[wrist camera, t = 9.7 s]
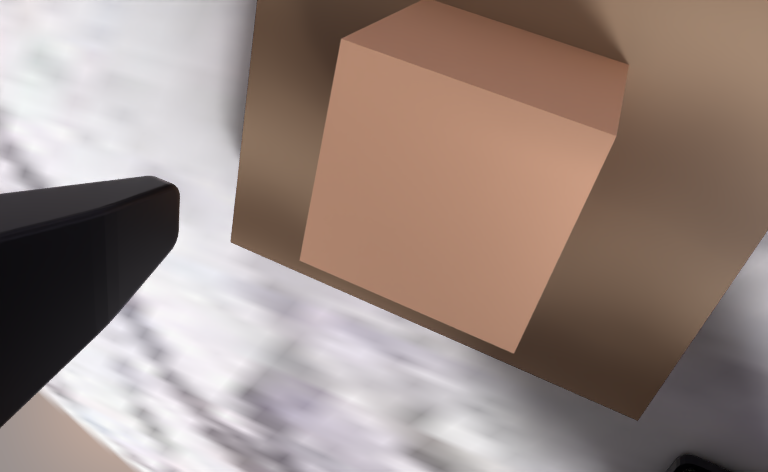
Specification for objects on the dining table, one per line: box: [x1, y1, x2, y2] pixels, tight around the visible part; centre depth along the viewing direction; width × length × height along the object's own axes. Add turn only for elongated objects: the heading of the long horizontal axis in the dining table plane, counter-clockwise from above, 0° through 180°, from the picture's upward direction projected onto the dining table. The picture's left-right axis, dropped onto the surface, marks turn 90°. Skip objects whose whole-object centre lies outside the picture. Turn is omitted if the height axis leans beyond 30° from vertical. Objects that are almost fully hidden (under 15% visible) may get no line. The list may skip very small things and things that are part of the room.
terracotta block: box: [299, 0, 629, 353], centre depth 14 cm, size 5×5×5 cm
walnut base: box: [231, 0, 768, 421], centre depth 17 cm, size 14×14×3 cm
